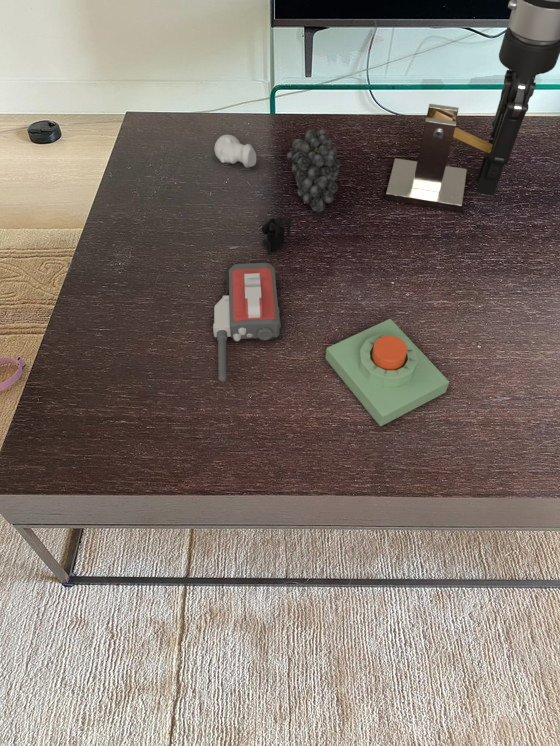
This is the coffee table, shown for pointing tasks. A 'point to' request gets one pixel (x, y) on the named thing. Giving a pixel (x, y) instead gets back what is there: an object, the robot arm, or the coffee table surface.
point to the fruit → (315, 168)
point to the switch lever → (466, 135)
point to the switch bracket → (430, 168)
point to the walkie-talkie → (246, 308)
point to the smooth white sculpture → (234, 151)
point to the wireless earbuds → (275, 234)
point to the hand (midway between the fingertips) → (485, 185)
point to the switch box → (385, 374)
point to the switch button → (389, 352)
